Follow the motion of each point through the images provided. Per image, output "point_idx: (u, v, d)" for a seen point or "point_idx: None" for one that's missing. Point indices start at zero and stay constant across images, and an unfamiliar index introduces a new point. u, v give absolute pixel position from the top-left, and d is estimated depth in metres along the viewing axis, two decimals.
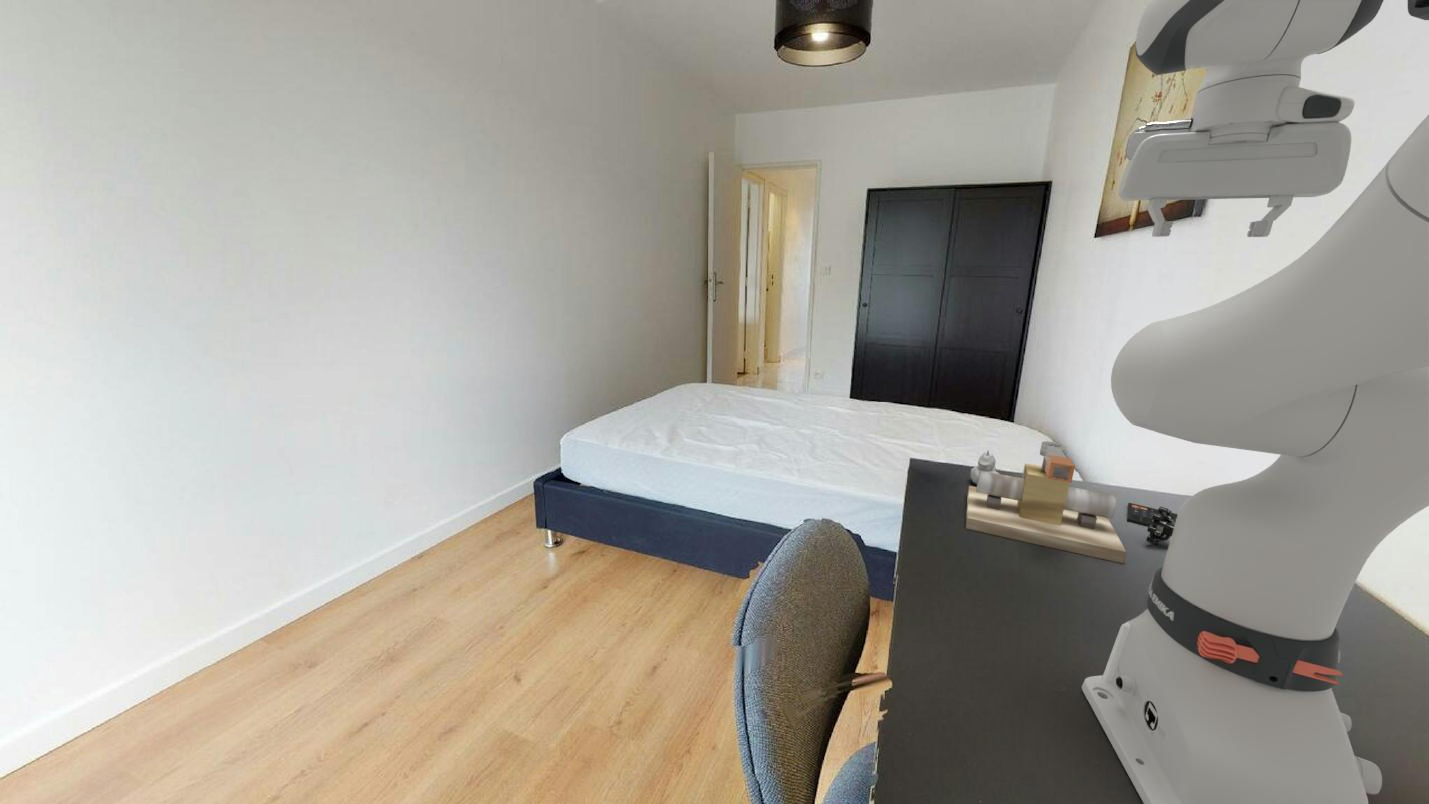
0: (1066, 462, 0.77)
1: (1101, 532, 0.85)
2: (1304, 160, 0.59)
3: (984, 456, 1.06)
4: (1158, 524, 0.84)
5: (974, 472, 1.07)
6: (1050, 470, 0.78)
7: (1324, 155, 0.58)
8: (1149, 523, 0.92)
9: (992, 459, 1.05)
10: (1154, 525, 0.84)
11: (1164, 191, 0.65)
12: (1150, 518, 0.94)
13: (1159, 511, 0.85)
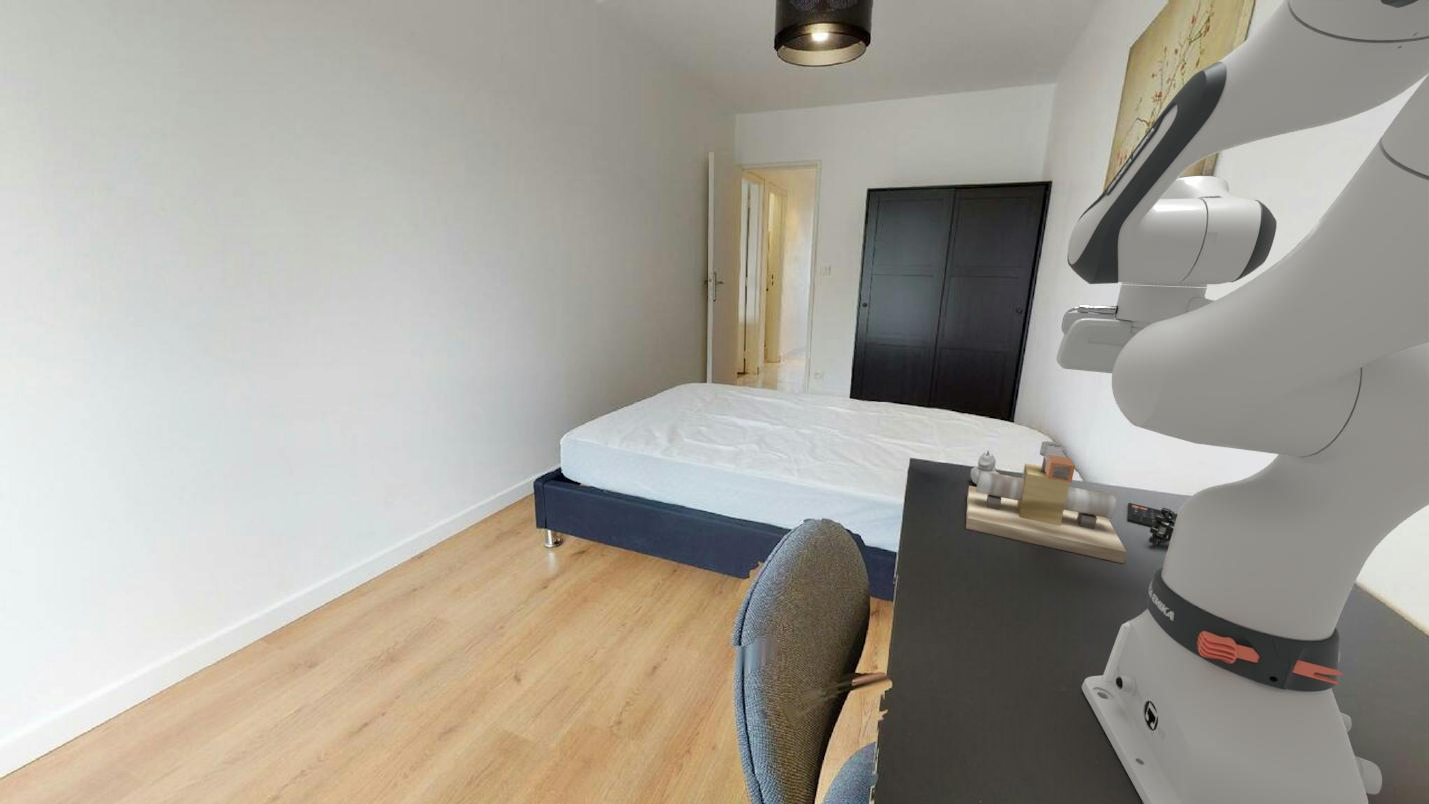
0: (1066, 462, 0.77)
1: (1101, 532, 0.85)
2: None
3: (984, 456, 1.06)
4: (1161, 525, 0.83)
5: (974, 472, 1.07)
6: (1050, 470, 0.78)
7: None
8: (1149, 523, 0.92)
9: (992, 459, 1.05)
10: (1157, 526, 0.84)
11: (1094, 367, 0.73)
12: (1150, 518, 0.94)
13: (1161, 512, 0.84)
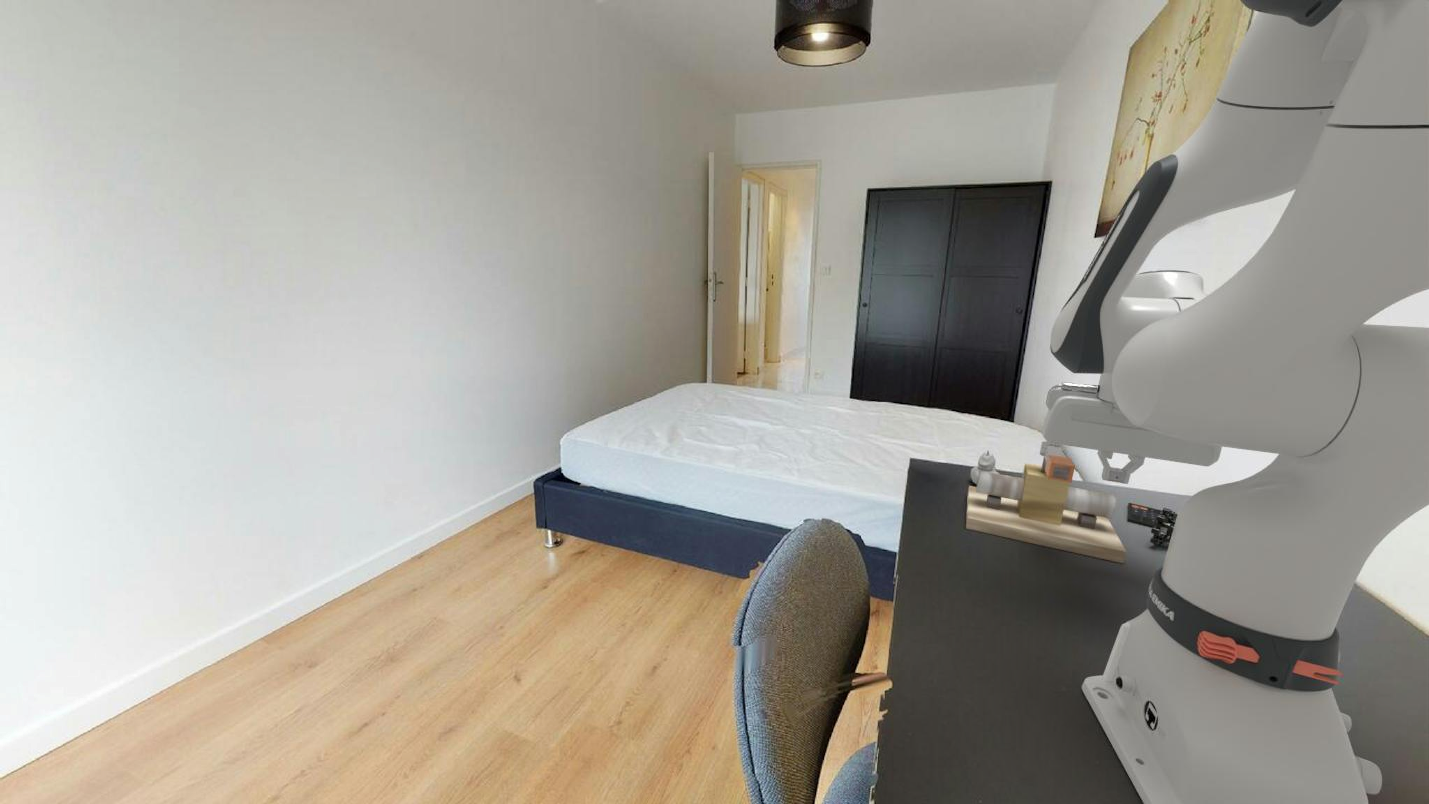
0: (1066, 462, 0.77)
1: (1101, 532, 0.85)
2: None
3: (984, 456, 1.06)
4: (1162, 525, 0.83)
5: (974, 472, 1.07)
6: (1050, 470, 0.78)
7: None
8: (1149, 523, 0.92)
9: (992, 459, 1.05)
10: (1158, 526, 0.83)
11: (1076, 443, 0.76)
12: (1150, 518, 0.94)
13: (1163, 512, 0.84)
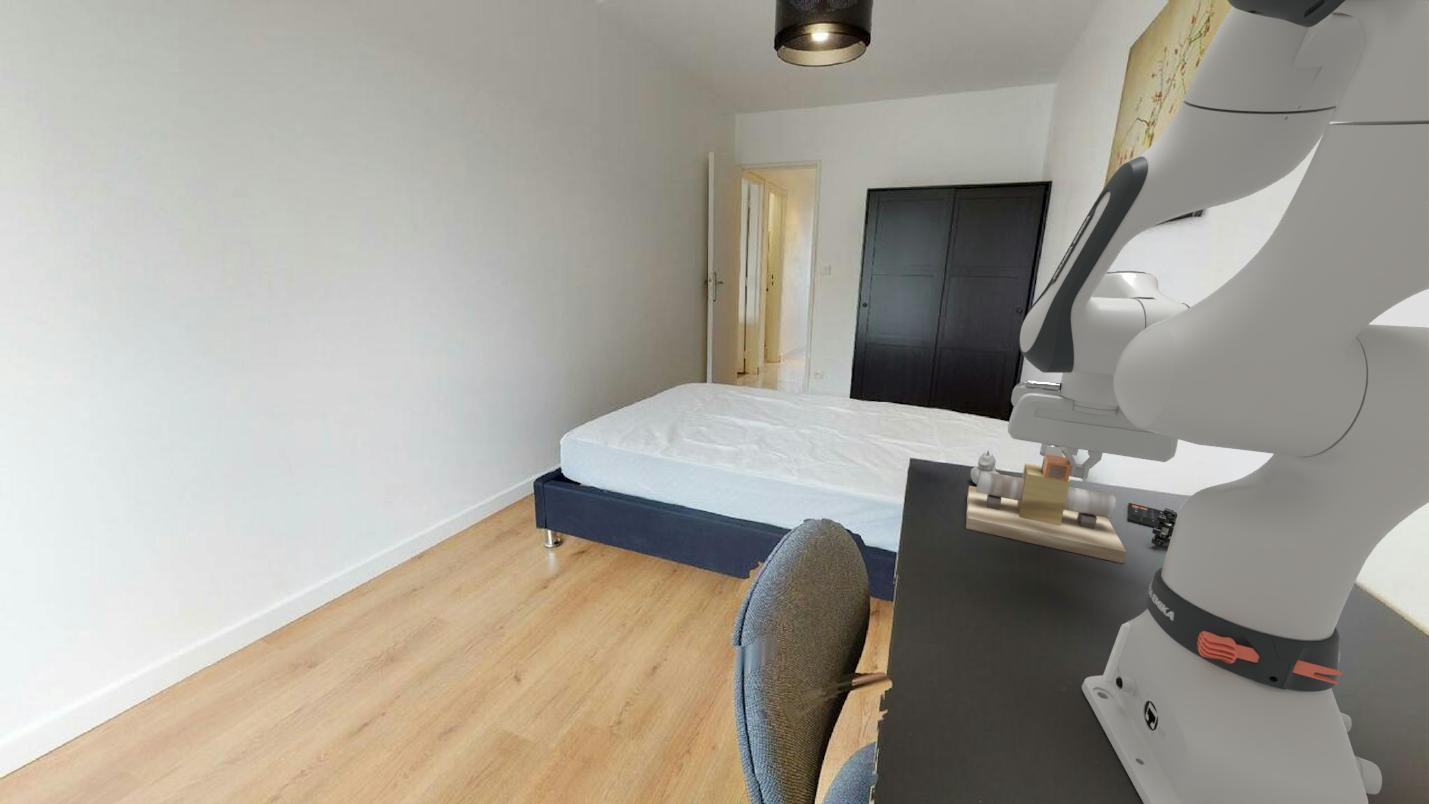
0: (1063, 462, 0.78)
1: (1101, 532, 0.85)
2: (1145, 434, 0.72)
3: (984, 456, 1.06)
4: (1163, 526, 0.83)
5: (974, 472, 1.07)
6: (1047, 469, 0.78)
7: (1160, 433, 0.71)
8: (1149, 523, 0.92)
9: (992, 459, 1.05)
10: (1159, 527, 0.83)
11: (1040, 439, 0.78)
12: (1150, 518, 0.94)
13: (1164, 513, 0.84)
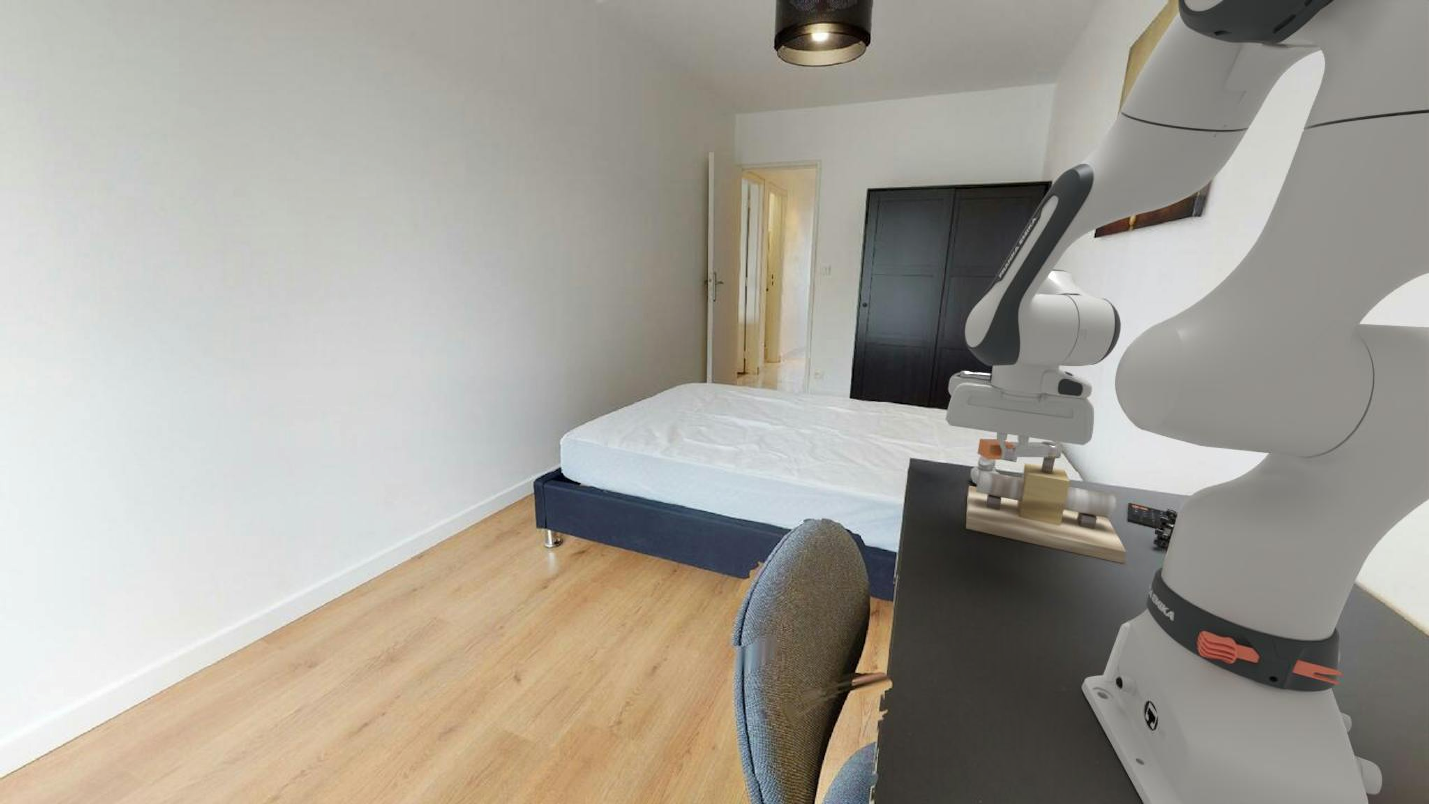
0: (994, 442, 0.86)
1: (1101, 532, 0.85)
2: (1064, 419, 0.78)
3: None
4: (1165, 527, 0.83)
5: (974, 472, 1.07)
6: (979, 446, 0.88)
7: (1078, 419, 0.77)
8: (1149, 523, 0.92)
9: None
10: (1161, 528, 0.83)
11: (973, 425, 0.84)
12: (1150, 518, 0.94)
13: (1166, 513, 0.84)
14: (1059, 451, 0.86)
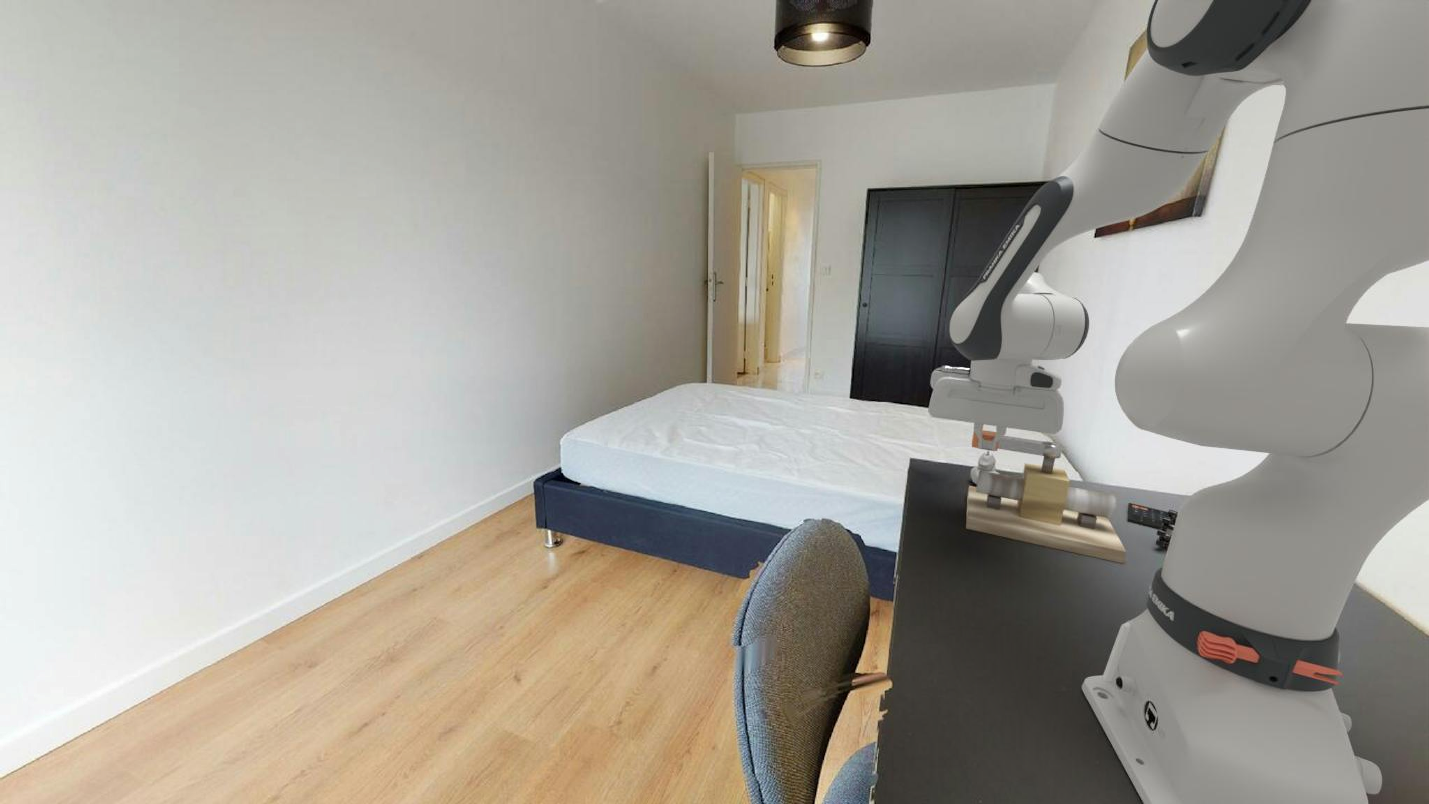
0: (982, 432, 0.91)
1: (1101, 532, 0.85)
2: (1037, 410, 0.84)
3: (984, 456, 1.06)
4: (1168, 527, 0.83)
5: (974, 472, 1.07)
6: None
7: (1049, 409, 0.83)
8: (1149, 523, 0.92)
9: (992, 459, 1.05)
10: (1164, 528, 0.83)
11: (953, 417, 0.89)
12: (1150, 518, 0.94)
13: (1168, 514, 0.83)
14: (1055, 451, 0.86)
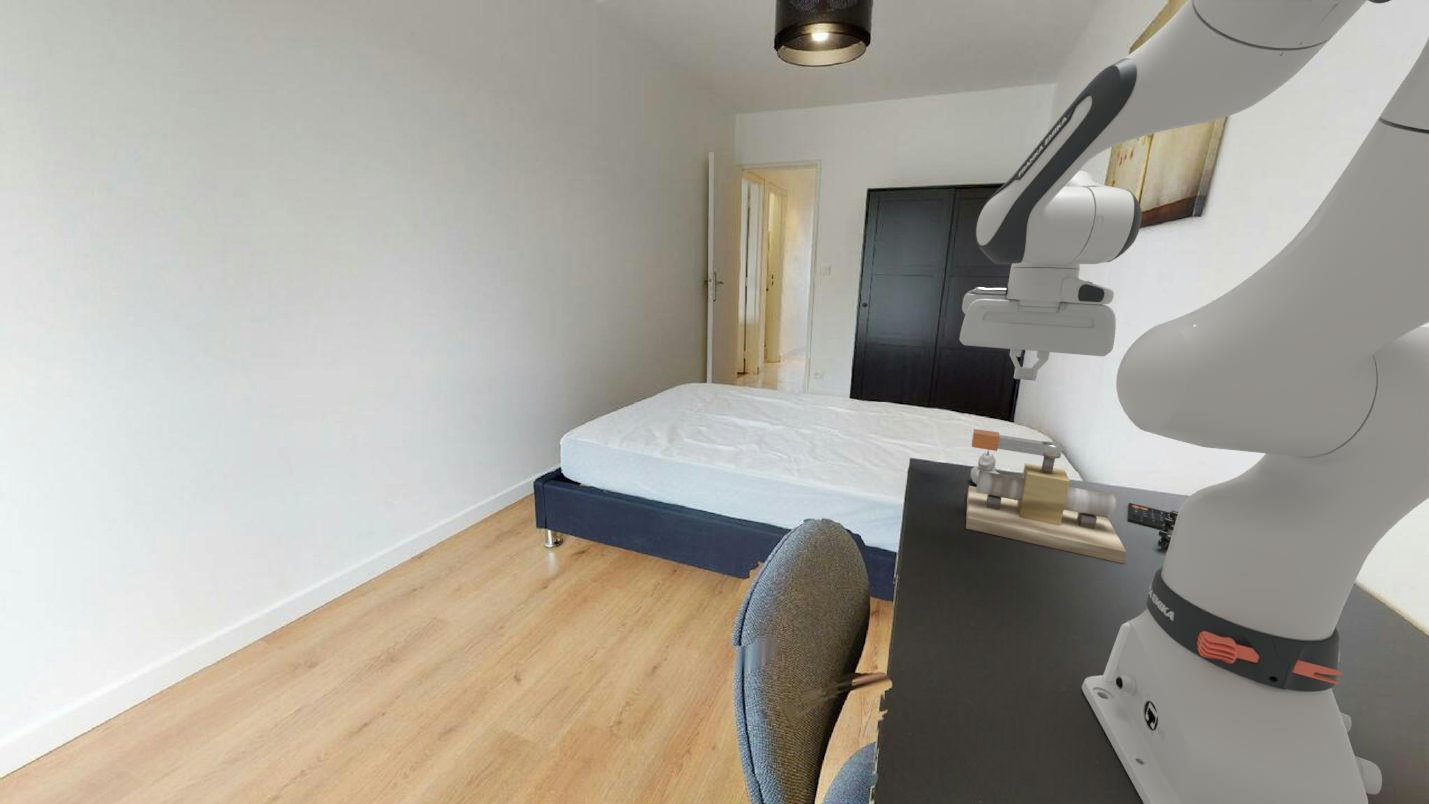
0: (982, 432, 0.91)
1: (1101, 532, 0.85)
2: (1085, 330, 0.75)
3: (984, 456, 1.06)
4: (1169, 528, 0.82)
5: (974, 472, 1.07)
6: None
7: (1098, 328, 0.74)
8: (1149, 523, 0.92)
9: (992, 459, 1.05)
10: (1165, 529, 0.83)
11: (988, 343, 0.81)
12: (1150, 518, 0.94)
13: (1170, 515, 0.83)
14: (1055, 451, 0.86)
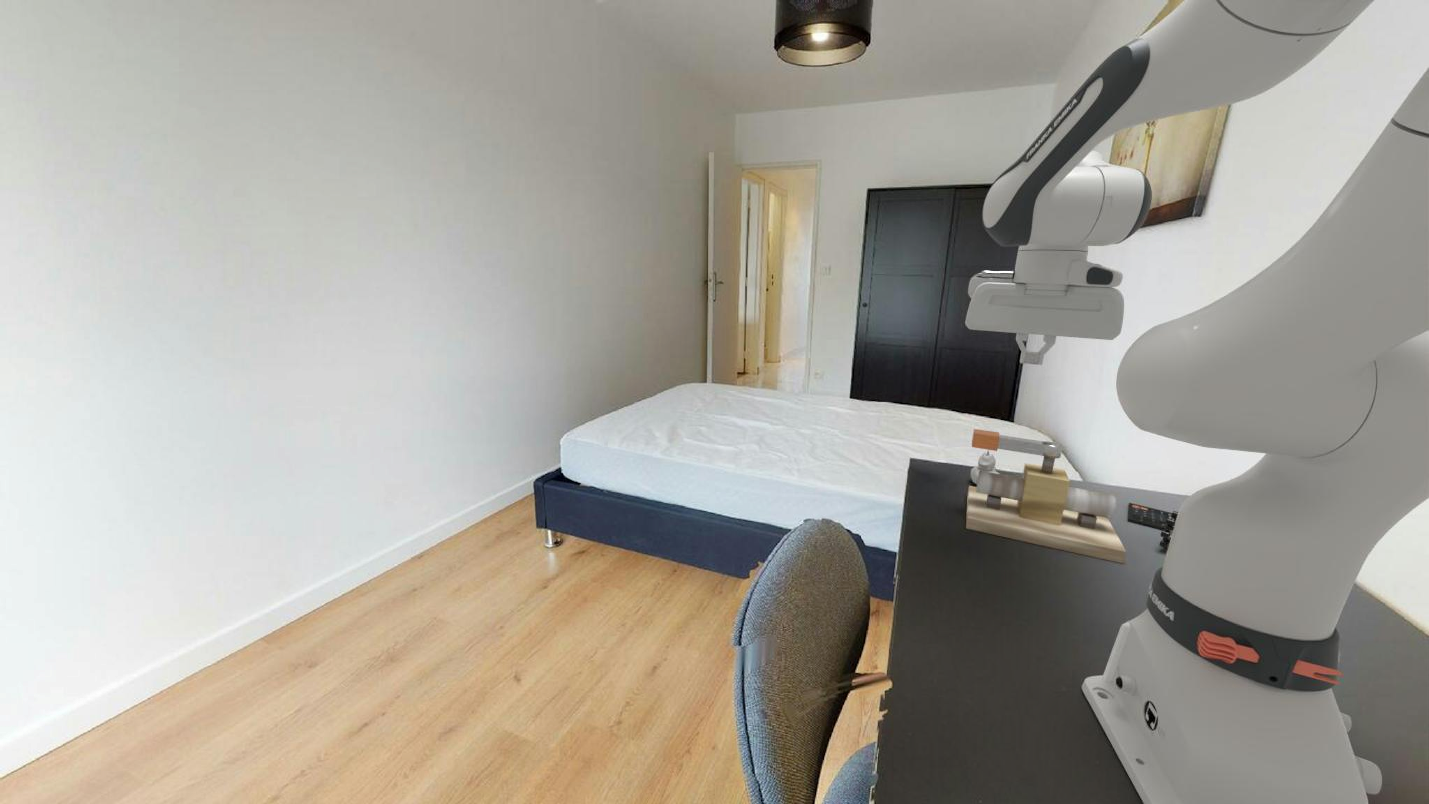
0: (982, 432, 0.91)
1: (1101, 532, 0.85)
2: (1092, 313, 0.74)
3: (984, 456, 1.06)
4: (1171, 529, 0.82)
5: (974, 472, 1.07)
6: None
7: (1106, 311, 0.73)
8: (1150, 523, 0.92)
9: (992, 459, 1.05)
10: (1167, 530, 0.82)
11: (994, 327, 0.80)
12: (1151, 518, 0.94)
13: (1172, 515, 0.83)
14: (1055, 451, 0.86)
